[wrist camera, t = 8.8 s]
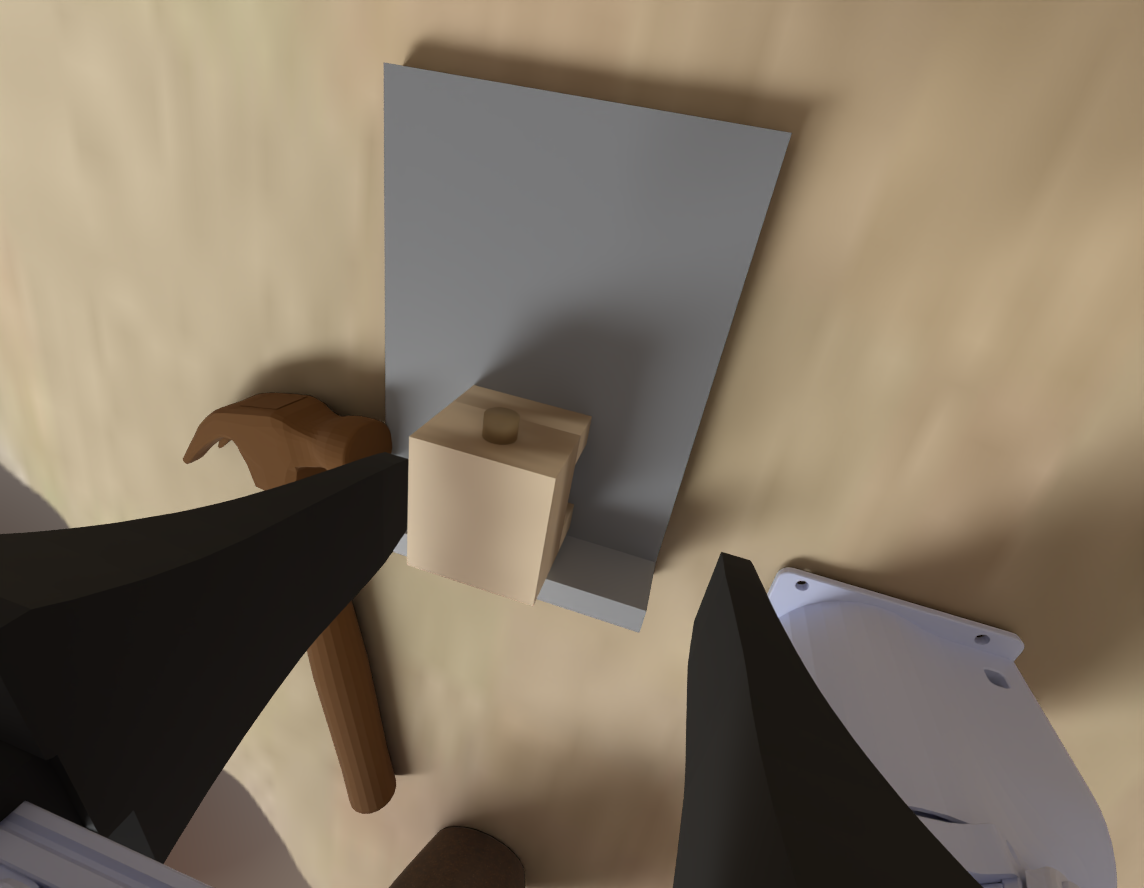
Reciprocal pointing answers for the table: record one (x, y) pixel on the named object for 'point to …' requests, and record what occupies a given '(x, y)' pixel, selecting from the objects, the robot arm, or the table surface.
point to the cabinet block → (493, 491)
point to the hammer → (338, 656)
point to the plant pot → (463, 863)
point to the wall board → (569, 289)
